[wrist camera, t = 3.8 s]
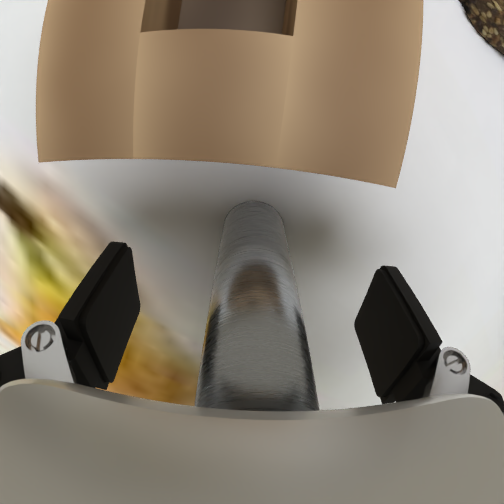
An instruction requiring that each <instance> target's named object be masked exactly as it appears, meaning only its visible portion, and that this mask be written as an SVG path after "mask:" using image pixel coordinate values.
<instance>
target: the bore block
mask: <svg viewBox="0 0 504 504" xmlns="http://www.w3.org/2000/svg"><path fill="white" fill-rule="evenodd" d="M422 28H423V0H48V3H47V7H46V12H45V17H44V22H43V28H42V34H41V41H40V48H39V57H38V68H37V84H36V132H37V149H38V160H39V162H51V161H66V160H88V159H169V160H191V161H208V162H222V163H234V164H245V165H255V166H265V167H273V168H282V169H289V170H297V171H304V172H311V173H318V174H324V175H330V176H336V177H342V178H348V179H353V180H359V181H364V182H369V183H374V184H379V185H384V186H389V187H393V188H396V185H397V182H398V178H399V174H400V170H401V166H402V162H403V158H404V153H405V149H406V144H407V140H408V135H409V130H410V125H411V120H412V114H413V108H414V102H415V96H416V89H417V82H418V74H419V66H420V56H421V44H422Z"/></svg>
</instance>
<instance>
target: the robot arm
mask: <svg viewBox="0 0 504 504" xmlns="http://www.w3.org/2000/svg"><path fill="white" fill-rule="evenodd" d="M139 312H140V300H139V294H138V288H137V282H136V276H135V270H134V263H133V255H132V249H131V248H130V247H128V246H127V244H126V243H122V242H110V243H109V245H108V246H107V247H106V248H105V250H104V251H103V252H102V254H101V255H100V256H99V258H98V259H97V260H96V262H95V263H94V265H93V266H92V267H91V269H90V270H89V271H88V273H87V274H86V276H85V277H84V279H83V280H82V281H81V283H80V284H79V286H78V287H77V289H76V290H75V292H74V293H73V295H72V296H71V298H70V299H69V301H68V302H67V304H66V305H65V307H64V308H63V310H62V312H61V313H60V315H59V316H58V318H57V320H56V322H55V323H53V322H50V321H39V322H36V323H34V324H32V325H31V326H29V327H28V328H27V329H26V330H25V332H24V333H23V336H22V338H21V346H20V347H18V348H16V349H14V350H11V351H9V352H7V353H4V354H2V355H0V504H504V401H503V398H502V396H501V394H500V393H498V392H497V391H496V390H495V389H493V388H491V387H490V386H488V385H487V384H485V383H483V382H482V381H480V380H478V379H477V378H475V377H474V376H472V375H470V370H471V369H470V363H469V360H468V359H467V357H466V356H465V355H464V354H463V353H462V352H461V351H460V350H458V349H456V348H453V347H446V348H443V349H442V350H440V348H439V346H440V345H441V343H442V340H441V338H440V337H439V335H438V333H437V331H436V329H435V328H434V326H433V324H432V323H431V321H430V319H429V317H428V316H427V314H426V312H425V311H424V309H423V307H422V306H421V304H420V302H419V301H418V299H417V298H416V296H415V294H414V293H413V291H412V290H411V288H410V287H409V285H408V284H407V282H406V280H405V279H404V277H403V276H402V274H401V273H400V271H399V270H398V268H397V267H393V266H381V268H380V269H377V270H376V272H375V274H374V277H373V279H372V282H371V284H370V287H369V289H368V292H367V294H366V296H365V299H364V301H363V303H362V306H361V308H360V310H359V312H358V315H357V317H356V319H355V323H354V327H355V331H356V334H357V336H358V339H359V342H360V345H361V348H362V351H363V354H364V357H365V360H366V363H367V366H368V369H369V372H370V376H371V379H372V382H373V385H374V388H375V392H376V394H377V396H378V397H380V398H381V402H382V405H375V406H367V407H358V408H348V409H335V410H319V411H244V410H228V409H215V408H205V407H195V406H187V405H179V404H172V403H166V402H160V401H154V400H148V399H143V398H138V397H132V396H127V395H122V394H118V393H113V392H109V391H104V390H107V387H108V384H109V382H110V383H112V382H113V381H114V379H115V376H116V373H117V370H118V367H119V365H120V362H121V359H122V356H123V353H124V351H125V348H126V345H127V343H128V340H129V338H130V335H131V332H132V330H133V327H134V325H135V322H136V320H137V317H138V315H139ZM95 387H97V388H101V389H104V390H100V389H96V388H95ZM395 401H396V403H394V402H395ZM387 403H389V404H387Z"/></svg>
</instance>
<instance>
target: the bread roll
mask: <svg viewBox="0 0 504 504" xmlns="http://www.w3.org/2000/svg"><path fill="white" fill-rule="evenodd" d="M459 1H460V2H461V3H462V5H463V7H464V8H465V10H466V13H467V16H468V17H469V19H470V21H471V22H472V24H473V26H474V27H475V29H476V30H477V31H478V32H479V33H480V34H481V35H482V36H483V37H484V38H485V39H486V40H487V41H488V43H489V44H491V45H492V46H494V47H495V48H496V49H497V50H499V51H500V52H501V53H502V54H504V0H459Z"/></svg>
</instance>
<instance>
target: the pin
mask: <svg viewBox="0 0 504 504" xmlns="http://www.w3.org/2000/svg"><path fill="white" fill-rule="evenodd" d="M195 407H205V408H215V409H228V410H244V411H319V404H318V398H317V392H316V386H315V381H314V375H313V369H312V363H311V358H310V352H309V347H308V342H307V336H306V331H305V326H304V321H303V315H302V310H301V305H300V300H299V295H298V291H297V286H296V281H295V276H294V271H293V267H292V262H291V257H290V253H289V248H288V244H287V239H286V235H285V230H284V226H283V222H282V219H281V217H280V215H279V213H278V212H277V211H276V210H275V209H274V208H273V207H271V206H270V205H268V204H266V203H262V202H258V201H250V202H245V203H242V204H240V205H238V206H236V207H235V208H233V209H232V210H231V211H230V212H229V214H228V215H227V217H226V219H225V222H224V227H223V233H222V238H221V243H220V249H219V254H218V260H217V265H216V271H215V277H214V283H213V288H212V294H211V300H210V306H209V312H208V318H207V325H206V331H205V337H204V344H203V350H202V357H201V364H200V371H199V378H198V385H197V392H196V399H195Z"/></svg>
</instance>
